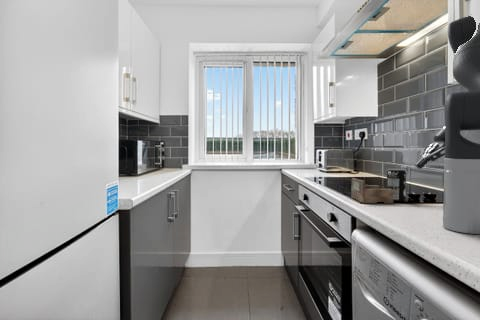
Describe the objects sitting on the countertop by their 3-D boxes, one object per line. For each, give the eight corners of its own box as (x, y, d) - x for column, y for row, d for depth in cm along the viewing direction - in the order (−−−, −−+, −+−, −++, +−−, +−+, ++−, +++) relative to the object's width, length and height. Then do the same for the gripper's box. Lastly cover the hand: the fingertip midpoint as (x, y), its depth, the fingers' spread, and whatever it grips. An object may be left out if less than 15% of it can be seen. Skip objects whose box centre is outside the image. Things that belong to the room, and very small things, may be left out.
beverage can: (401, 199, 119) (401, 168, 119) (408, 202, 113) (409, 169, 112) (383, 199, 120) (384, 168, 120) (390, 201, 113) (390, 169, 113)
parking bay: (378, 197, 122) (378, 178, 122) (392, 203, 110) (393, 181, 110) (350, 197, 123) (351, 177, 122) (361, 203, 111) (362, 181, 110)
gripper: (433, 128, 122) (401, 159, 122) (456, 126, 108) (420, 161, 109) (446, 141, 122) (414, 172, 122) (471, 141, 108) (435, 175, 109)
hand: (417, 167), depth 116 cm, fingers closed
